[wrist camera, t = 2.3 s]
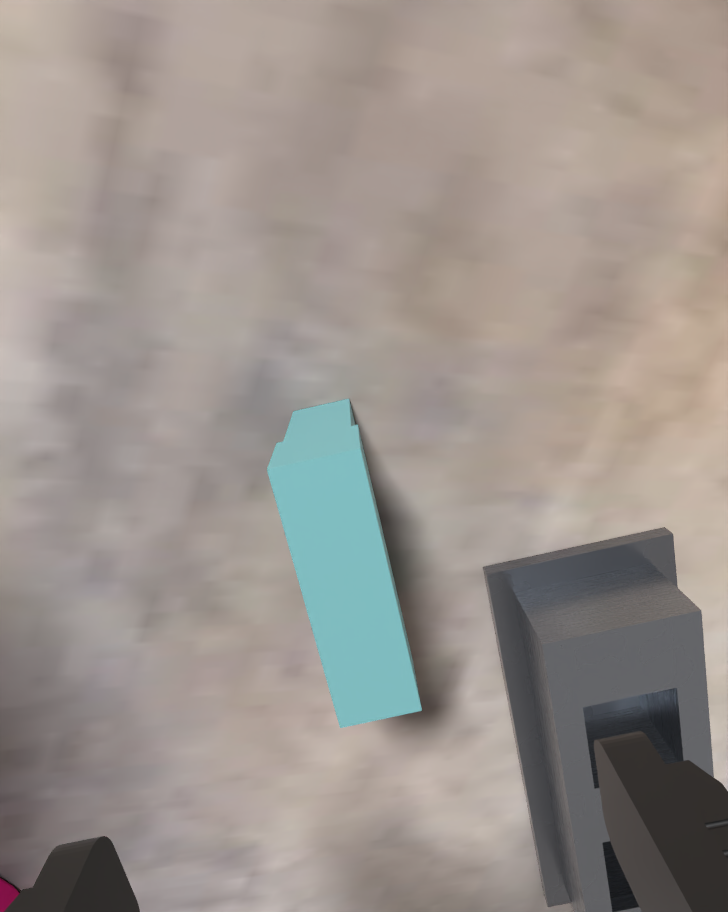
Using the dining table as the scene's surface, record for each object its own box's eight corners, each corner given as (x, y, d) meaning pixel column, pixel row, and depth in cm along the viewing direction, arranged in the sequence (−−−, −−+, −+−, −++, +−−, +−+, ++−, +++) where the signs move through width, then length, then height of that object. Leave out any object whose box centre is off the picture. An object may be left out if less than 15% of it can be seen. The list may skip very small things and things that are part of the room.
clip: (287, 412, 22) (266, 469, 16) (354, 397, 22) (360, 448, 16) (340, 610, 24) (339, 728, 18) (401, 596, 24) (421, 710, 18)
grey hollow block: (482, 567, 24) (510, 623, 20) (664, 527, 24) (727, 577, 20) (543, 894, 29) (575, 990, 25) (695, 863, 29) (749, 955, 25)
